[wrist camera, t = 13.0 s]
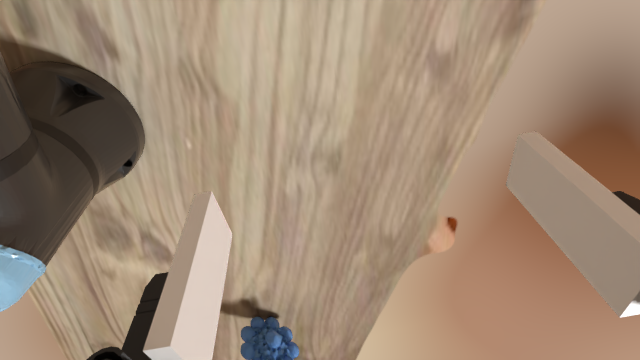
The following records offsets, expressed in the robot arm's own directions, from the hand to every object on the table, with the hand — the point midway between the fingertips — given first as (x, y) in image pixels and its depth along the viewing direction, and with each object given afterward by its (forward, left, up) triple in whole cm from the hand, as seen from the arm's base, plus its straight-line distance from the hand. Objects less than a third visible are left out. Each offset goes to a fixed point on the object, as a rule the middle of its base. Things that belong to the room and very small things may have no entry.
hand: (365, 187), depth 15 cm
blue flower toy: (-18, -52, -27) cm, 61 cm away
